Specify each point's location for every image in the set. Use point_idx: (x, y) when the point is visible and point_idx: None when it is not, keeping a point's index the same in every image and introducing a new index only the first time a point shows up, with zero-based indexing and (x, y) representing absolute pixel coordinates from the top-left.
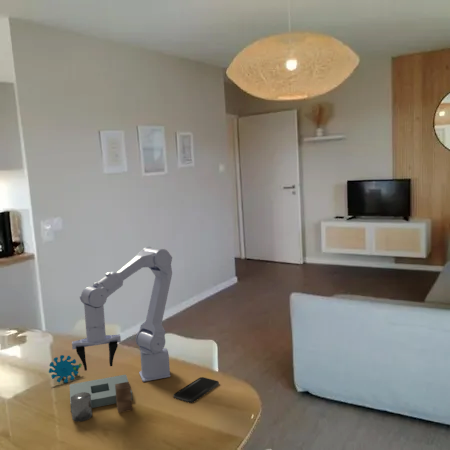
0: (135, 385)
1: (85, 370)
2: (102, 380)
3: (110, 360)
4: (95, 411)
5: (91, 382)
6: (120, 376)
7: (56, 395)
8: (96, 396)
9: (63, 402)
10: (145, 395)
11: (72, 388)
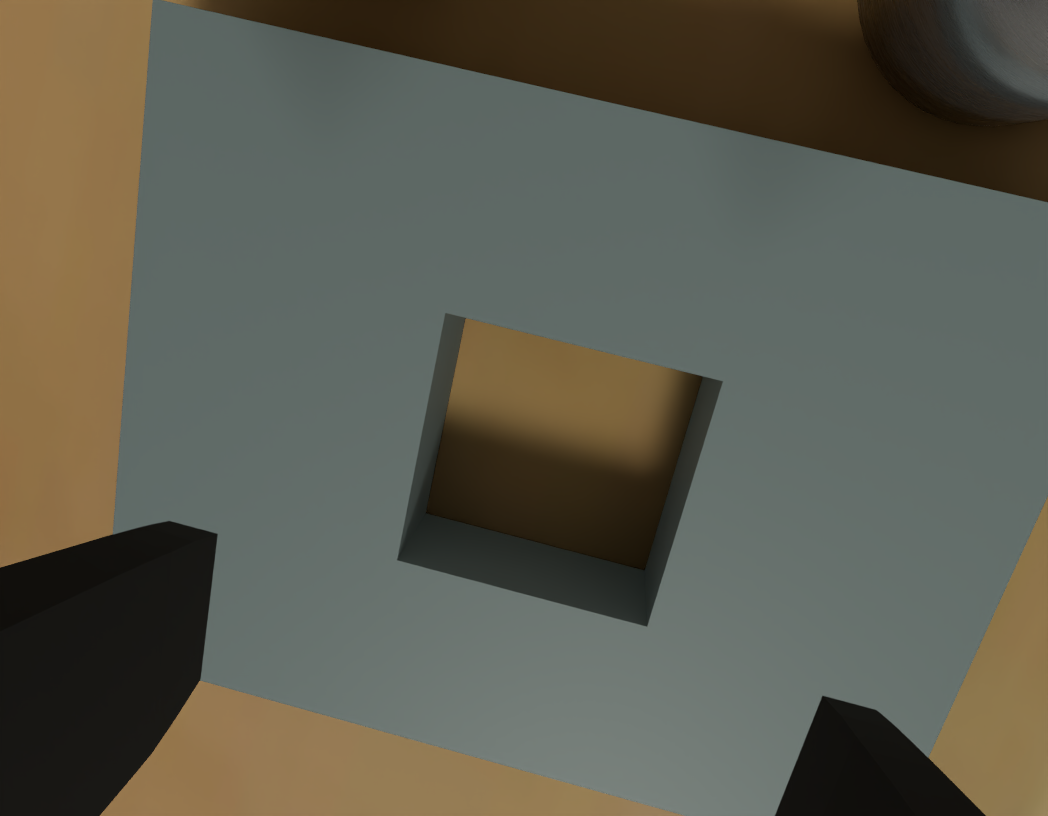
0: (88, 430)
1: (865, 707)
2: (439, 689)
3: (87, 584)
4: (784, 12)
5: (593, 730)
6: None
7: (1025, 807)
8: (695, 229)
9: (1038, 574)
10: (31, 54)
11: None
